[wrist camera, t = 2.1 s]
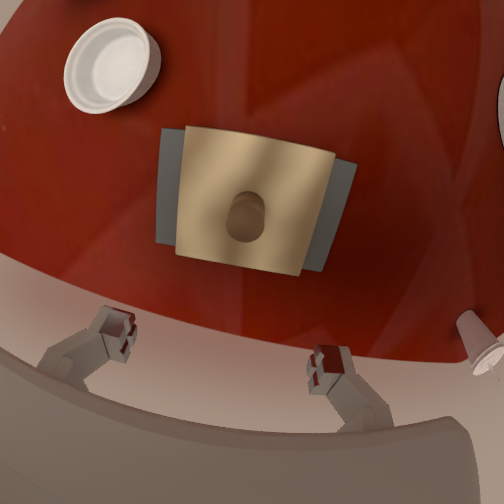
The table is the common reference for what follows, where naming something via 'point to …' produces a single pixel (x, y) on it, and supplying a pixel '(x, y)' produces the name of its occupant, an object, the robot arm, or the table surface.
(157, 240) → the mat
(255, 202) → the lid
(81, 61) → the ramekin
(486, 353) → the smoothie
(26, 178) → the table surface
